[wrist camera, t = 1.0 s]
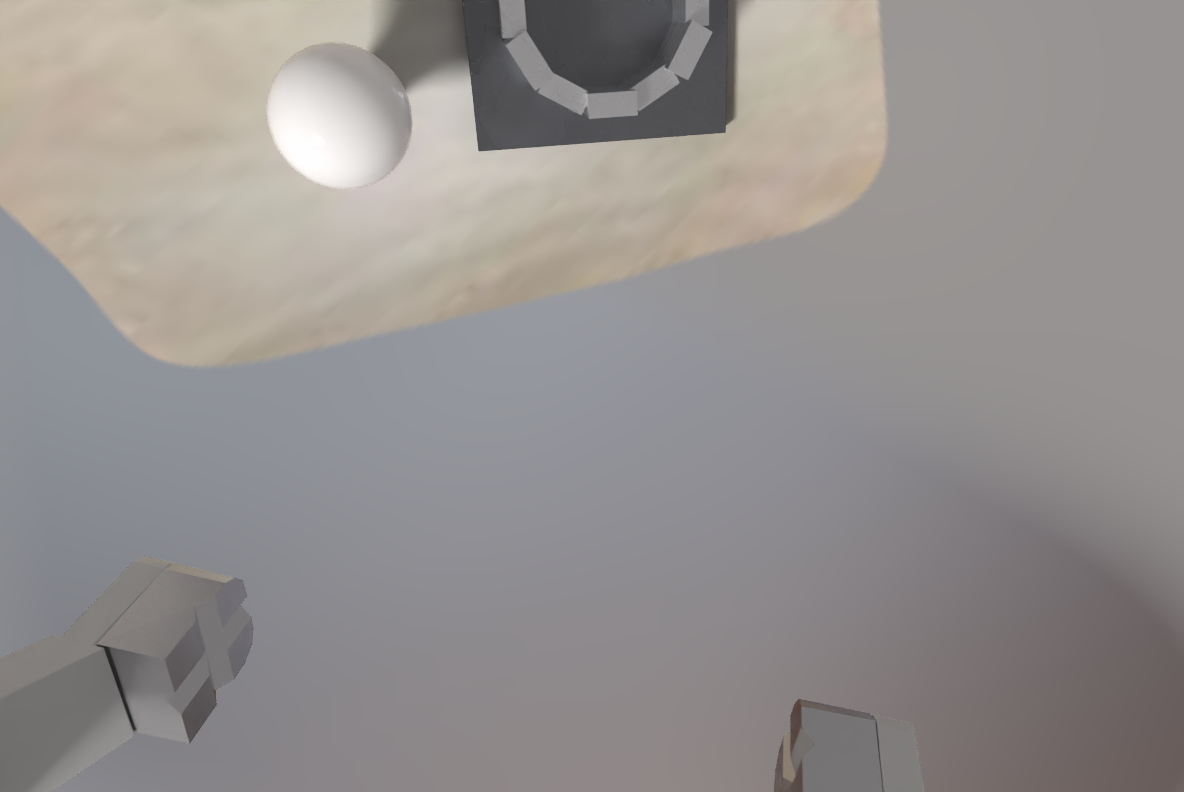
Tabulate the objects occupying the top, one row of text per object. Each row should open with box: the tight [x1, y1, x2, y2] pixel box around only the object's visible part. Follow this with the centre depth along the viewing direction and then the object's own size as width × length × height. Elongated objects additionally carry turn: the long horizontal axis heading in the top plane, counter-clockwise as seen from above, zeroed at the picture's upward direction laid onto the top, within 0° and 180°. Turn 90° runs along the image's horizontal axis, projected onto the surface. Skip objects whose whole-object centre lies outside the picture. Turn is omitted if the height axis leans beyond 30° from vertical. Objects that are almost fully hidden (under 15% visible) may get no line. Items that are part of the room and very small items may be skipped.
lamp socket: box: [462, 0, 728, 151], centre depth 42 cm, size 14×14×5 cm
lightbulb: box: [267, 42, 412, 190], centre depth 40 cm, size 6×6×11 cm
